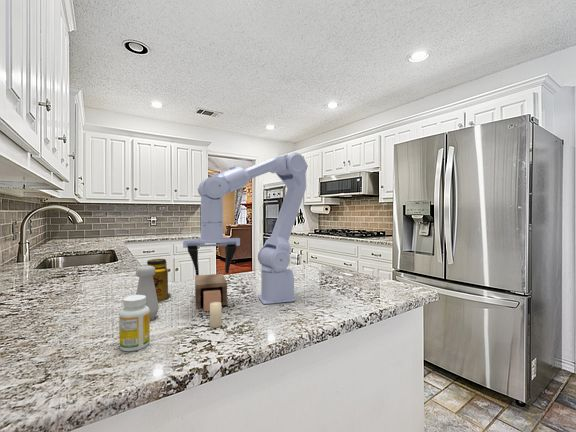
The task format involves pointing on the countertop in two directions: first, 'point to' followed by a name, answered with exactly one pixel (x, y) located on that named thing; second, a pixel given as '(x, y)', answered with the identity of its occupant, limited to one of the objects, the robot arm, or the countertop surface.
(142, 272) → the salt shaker
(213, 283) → the panel
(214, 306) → the cord block
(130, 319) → the supplement bottle
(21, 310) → the countertop surface
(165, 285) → the condiment
